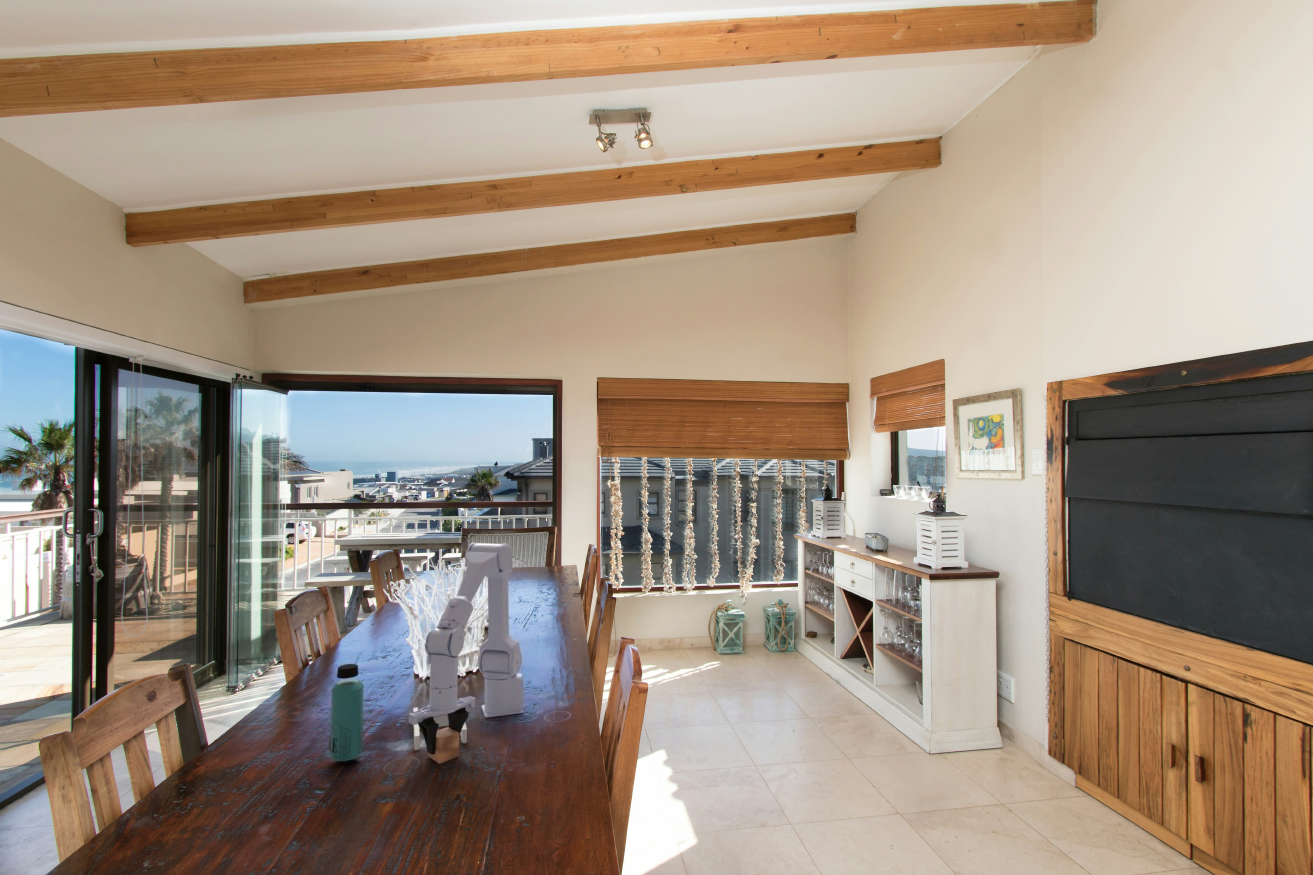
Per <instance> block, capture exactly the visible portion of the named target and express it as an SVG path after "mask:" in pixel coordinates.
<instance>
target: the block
mask: <svg viewBox="0 0 1313 875" xmlns="http://www.w3.org/2000/svg"><path fill="white" fill-rule="evenodd" d="M458 757H460V736H459V732H457V731H455V730H453V729H451V728H449V727H443V728H440V729H438V730H437V735H436V751H435V754H433V755H431V754H429V753H428V758H430V759H431V760H432V761H434V762H436V763H437V764H442V763H443V764H444V763H446V762H448V761H450V760H453V759H456V758H458Z"/></svg>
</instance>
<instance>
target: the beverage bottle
mask: <svg viewBox="0 0 1313 875" xmlns="http://www.w3.org/2000/svg"><path fill="white" fill-rule="evenodd" d="M358 676H359V665H358V664H356V663H346V664H345V663H344V664H341V665H339V666H338V667H337V673H336V678H338V679H342V680H339V681H337V682H336V683H335V684H334V685H332V688H331V689H330V692H331V695H330V696H331V703H330V705H331V706H330V707H331V708H330V714H329V715H330V723H329V726H330V731H329V742H328V743H329V744H328V745H329V751H328V752H329V757H330V759H331V760H332V761H336V762H346V761H350V760H353V759H357V758H358V757H360V756H361V755H362V753H363V750H364V735H365V734H364V721H365V719H364V688H365V685H364V683H363V682H361V680H359V679H357V678H356V677H358Z"/></svg>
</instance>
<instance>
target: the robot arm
mask: <svg viewBox="0 0 1313 875" xmlns="http://www.w3.org/2000/svg"><path fill="white" fill-rule="evenodd" d="M464 561H465V562H464V563H465V568H466V569H465V571H464V575H463V578H462V580H461V583H460V586H459V588H458V591H457V594H456V595H455V597H453V598H450V599H449V600H448V602H447V605H446V607H445V609H444V611H443V613H442V614H441V615H442V616H441V618H440V619H439V622H438V623H437V626H436V627H435V628H434V629H431V630H430V631H429V632H428V634H427V636H426V639H425V643H424V650H425V653H426V655H427V664H429V703H428V705H426V706H424V707H422V708H420V709H418V710H417V711H415V712H409V713H408V724H410V725H412V726H413V725H416V724H418V725H419V727H420V729H421V730H420V732H421V733H422V736H423V738H424V742H425V746H426V747H425V748H426V752H427V754H428V755H429V754H431V755H433V754H435V751H436V735H437V731H438V730H439V728H438V726H439V724H438V723H436V722H435V720H434V718H438V717H443V716H448V721H449V728H451V729H453V730H455V731H457V732H459V737H460V733H461V730H462V728H463V725H464V723H465V724H466V722H467V720H468V718H469V713H470V712H469V711H467V709H469V708H470V709H473V708H476V697H474V696H471V695H470V696H465V697H460V698H458V687H459V686H458V685H459V684H458V681H459V680H458V679H459V676H458V673H459V655H460V653H461V652H462V650H463V648H464V645H465V636H466V630H465V629H466V628H467V625H468V622H469V621H470V618H471V615H472V614H473V611H474V606H473V604H472V601H473V599H474V597H475V596H476V593H477V592H478V590H479V588H480V587H481V585H482V584H483V582H484V579H485V578H486V577H487V597H488V598H487V606H488V607H487V608H488V609H487V610H488V612H487V614H488V616H487V618H488V620H487V621H488V624H487V626H488V638H487V639H485V640H484V641H483V642H482V643H481V644H480V646H479V654H478V659H477V667H478V670H479V672H480V673H481V674H482V677H484V679H485V680H484V704H482V705H481V710H482V712H483V716H484V718H493V717H500V716H501V717H502V716H510V715H517V714H523V713H524V678H523V675H522V673H521V672H520V670H521V667H522V663H523V655H522V653H521V646H520V643H519V642H518V640H516V639H515V638H514V637H512V636H511V635H510V630H509V629H510V622H509V621H510V620H509V619H510V615H509V610H510V609H509V607H510V606H509V605H510V604H509V603H510V602H509V574H510V573H513V566H514V565H513V562H514V561H513V549H512V548H511V547H510V545H509V544H508V543H505V542H503V543H488V542H487V543H486V542H484V543H483V542H476V541H475V542H471V543H470V544H469V545H468V547H467V548H466V552H465V556H464Z"/></svg>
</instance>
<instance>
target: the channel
mask: <svg viewBox="0 0 1313 875" xmlns="http://www.w3.org/2000/svg"><path fill="white" fill-rule="evenodd" d="M412 710H413V712H415V711H417V710H419V707H413V709H412ZM413 712H412V713H413ZM434 720H435V722H436V723H438V724H439V726H438V729H443V728H447V727H449V721H448V715H445V716H439V717H435V718H434ZM412 727H413V728H412V730H413V729H414V730H413V745H414V746H413V748H414V751H419V750H420V740H421V738H420V731H421V729H420V727H419V725H418V724H416V725H412ZM460 736H461V737H460ZM460 736H459V737H460V741H461V744H462V743H463V744H467V741H468V740H467V738H468V728H467V724H466V722H465V723H464V725H463V728H462V730H461V733H460Z"/></svg>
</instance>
